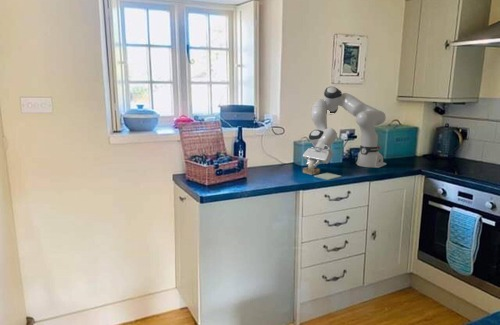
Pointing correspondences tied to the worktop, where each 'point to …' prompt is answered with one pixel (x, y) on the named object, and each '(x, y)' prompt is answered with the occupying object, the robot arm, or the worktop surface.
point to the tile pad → (327, 176)
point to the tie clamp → (311, 171)
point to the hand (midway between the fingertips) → (310, 165)
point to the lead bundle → (311, 164)
